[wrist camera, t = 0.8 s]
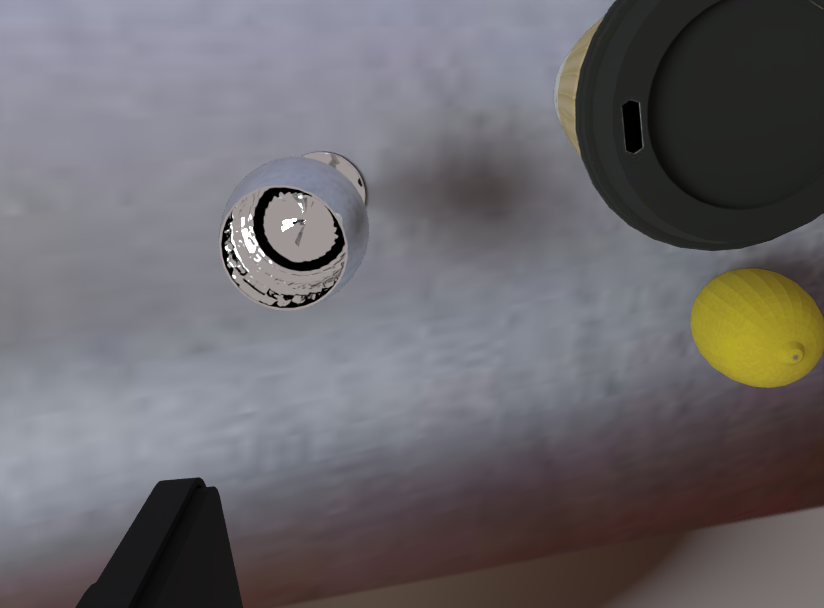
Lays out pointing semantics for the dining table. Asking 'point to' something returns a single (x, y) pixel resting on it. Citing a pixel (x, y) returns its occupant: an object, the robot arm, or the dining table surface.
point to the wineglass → (295, 230)
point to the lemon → (758, 327)
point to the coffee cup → (701, 117)
